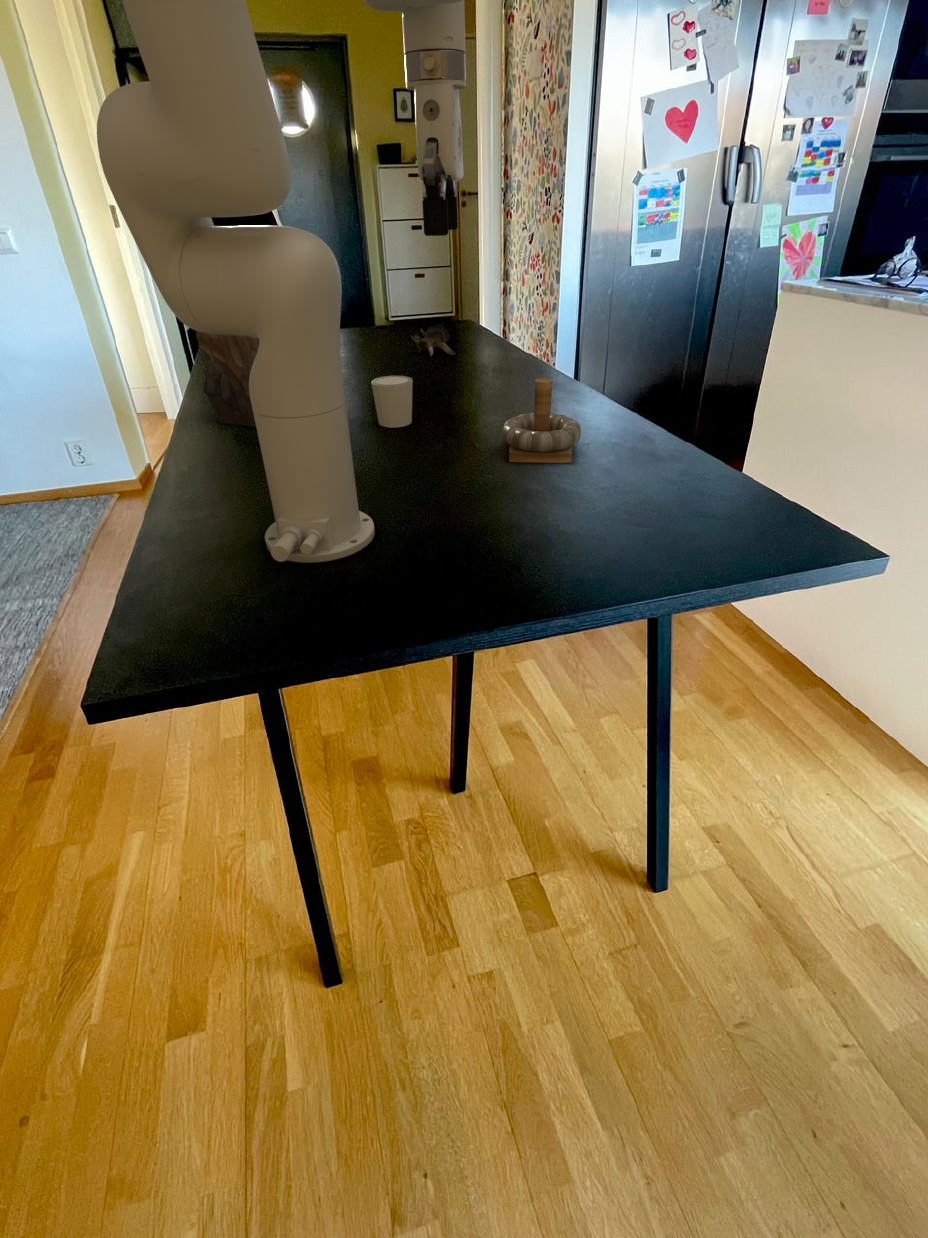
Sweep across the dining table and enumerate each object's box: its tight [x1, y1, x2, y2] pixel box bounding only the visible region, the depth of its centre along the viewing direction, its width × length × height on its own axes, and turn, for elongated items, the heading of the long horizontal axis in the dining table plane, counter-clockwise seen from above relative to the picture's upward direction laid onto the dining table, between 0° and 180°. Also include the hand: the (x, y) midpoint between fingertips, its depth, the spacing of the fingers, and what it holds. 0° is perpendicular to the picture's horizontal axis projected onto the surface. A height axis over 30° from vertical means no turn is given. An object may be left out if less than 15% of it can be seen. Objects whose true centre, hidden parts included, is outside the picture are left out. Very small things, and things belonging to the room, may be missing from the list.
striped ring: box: [501, 412, 582, 452], centre depth 98 cm, size 12×12×3 cm
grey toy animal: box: [410, 324, 456, 357], centre depth 153 cm, size 8×7×9 cm
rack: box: [508, 377, 573, 464], centre depth 97 cm, size 9×9×10 cm
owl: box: [195, 330, 260, 429], centre depth 113 cm, size 13×13×20 cm
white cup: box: [370, 375, 414, 429], centre depth 111 cm, size 7×7×7 cm
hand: (441, 232), depth 92 cm, fingers open, 9 cm apart
